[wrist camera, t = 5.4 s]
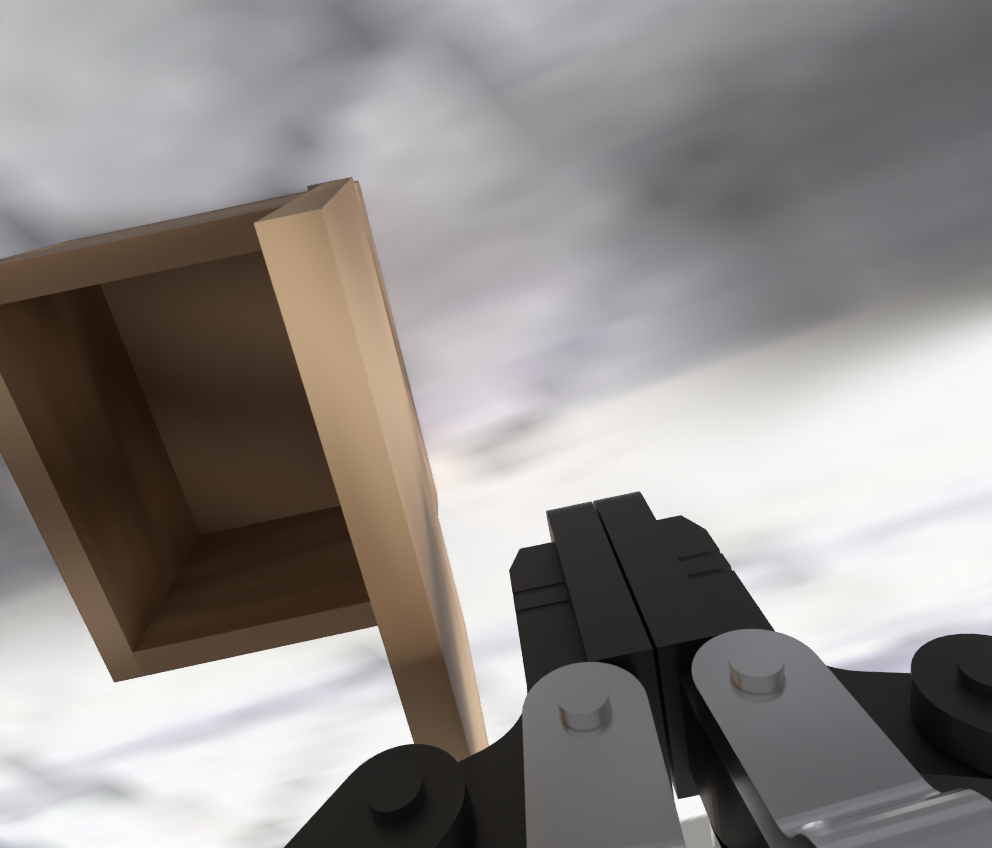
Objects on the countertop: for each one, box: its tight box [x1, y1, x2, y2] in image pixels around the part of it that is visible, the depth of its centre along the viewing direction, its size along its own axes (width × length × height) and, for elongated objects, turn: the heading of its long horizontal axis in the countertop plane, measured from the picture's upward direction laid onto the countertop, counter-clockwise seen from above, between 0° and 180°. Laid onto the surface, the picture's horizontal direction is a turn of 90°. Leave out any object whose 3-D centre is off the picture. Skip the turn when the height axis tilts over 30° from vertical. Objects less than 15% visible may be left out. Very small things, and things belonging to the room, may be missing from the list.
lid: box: [254, 177, 489, 762], centre depth 13 cm, size 12×10×1 cm
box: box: [0, 181, 438, 682], centre depth 21 cm, size 11×9×7 cm
